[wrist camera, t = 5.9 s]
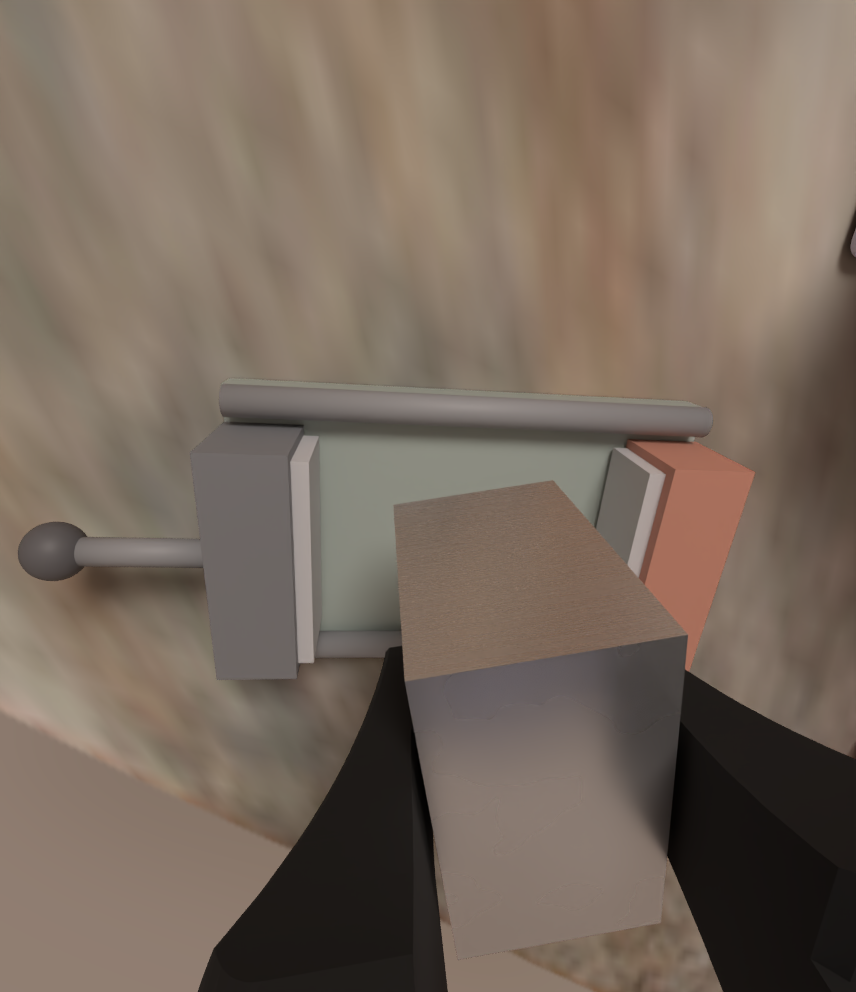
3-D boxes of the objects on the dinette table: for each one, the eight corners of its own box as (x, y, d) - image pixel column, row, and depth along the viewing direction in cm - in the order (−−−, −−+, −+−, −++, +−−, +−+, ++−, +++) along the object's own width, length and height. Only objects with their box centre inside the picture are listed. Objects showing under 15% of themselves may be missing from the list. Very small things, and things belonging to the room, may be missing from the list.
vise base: (687, 398, 18) (770, 429, 14) (626, 629, 22) (678, 702, 18) (42, 365, 16) (-65, 392, 12) (100, 630, 20) (33, 713, 16)
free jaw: (695, 441, 18) (755, 472, 15) (645, 620, 21) (687, 674, 18) (613, 438, 18) (659, 468, 15) (574, 620, 20) (606, 675, 18)
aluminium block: (553, 480, 13) (687, 634, 7) (559, 693, 15) (661, 923, 10) (392, 504, 12) (404, 681, 7) (429, 715, 15) (457, 960, 10)
